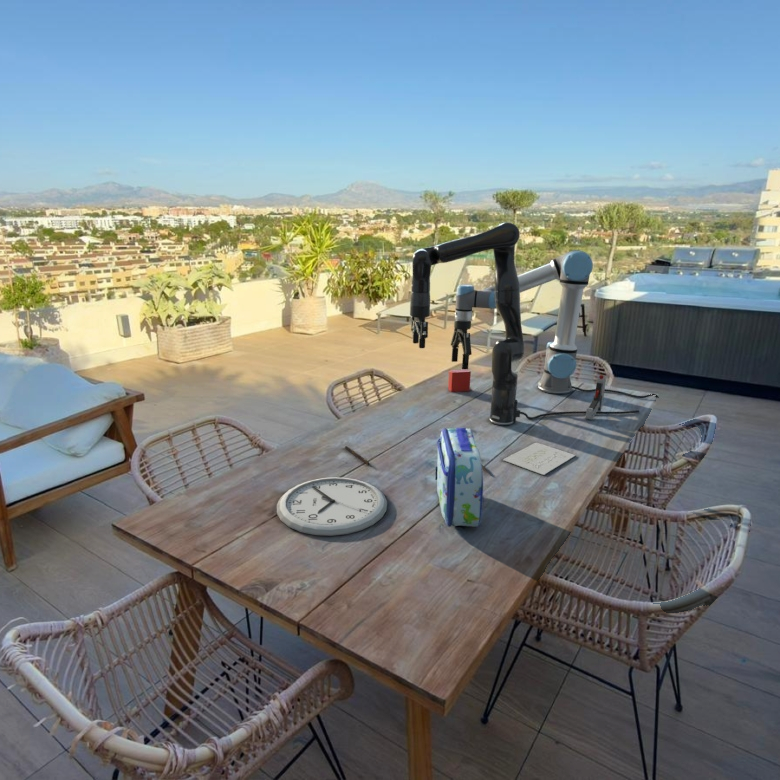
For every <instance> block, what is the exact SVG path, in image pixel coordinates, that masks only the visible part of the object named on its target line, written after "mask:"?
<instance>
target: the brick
mask: <svg viewBox="0 0 780 780" xmlns="http://www.w3.org/2000/svg"><path fill="white" fill-rule="evenodd" d="M471 374H472V371H470V370H469V369H451V370H449V371H448V387H447V388H448V391H450V393H455V392H456V393H457V392H470V387H471Z"/></svg>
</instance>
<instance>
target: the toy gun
mask: <svg viewBox="0 0 780 780" xmlns="http://www.w3.org/2000/svg"><path fill="white" fill-rule="evenodd" d="M595 389H596V391H594V392H595V393H594V396H593V398H592V401H591V402H590V404H589V406H588V407H586V410H585V411H586V413H585V419H586V420H589V421H592V420H593V419H594V417H595V415H597V414H596V412H602V409H603V408H602V407H603V402H604V399H605V392H606V391H605V389H606V375H605V374H599V375H598V377H597V381H596V383H595Z"/></svg>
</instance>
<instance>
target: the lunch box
mask: <svg viewBox="0 0 780 780" xmlns="http://www.w3.org/2000/svg"><path fill="white" fill-rule="evenodd" d="M436 444H437V458H436V459H437V464H436V465H437V466H436V467H435V480H434V481H436V483H437V484H436V490H437V491H436V492H437V495H438V501H439V507H440V512H441V516H442V518H443V520H444V523H445V525H447V527H449V528H450V527H457V526H461V527H473V528H478V527H479V526H480V524H481V522H482V514H483V501H484V500H483V499H484V473H483V472H484V470H482V466H483V464H482V460H481V459H482V458H481V454H480V451H479V449H478V445H477V443H476V440H475V437H474V433H473V430H472V429H471V428H466V427H455V428H447V427H446V428H445V427H444V428H441V432H440V436H439V438H438V439H437V442H436Z"/></svg>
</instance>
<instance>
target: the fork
mask: <svg viewBox="0 0 780 780" xmlns="http://www.w3.org/2000/svg"><path fill="white" fill-rule="evenodd" d="M482 471H483V472H485V473H486V474H488V470H486V468H485V467H484V466H483V465H482Z"/></svg>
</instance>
